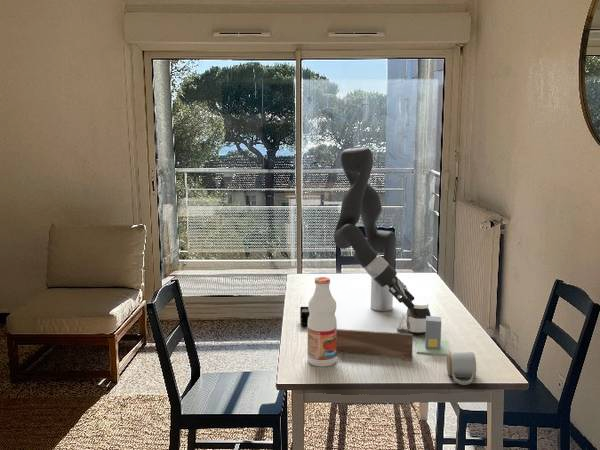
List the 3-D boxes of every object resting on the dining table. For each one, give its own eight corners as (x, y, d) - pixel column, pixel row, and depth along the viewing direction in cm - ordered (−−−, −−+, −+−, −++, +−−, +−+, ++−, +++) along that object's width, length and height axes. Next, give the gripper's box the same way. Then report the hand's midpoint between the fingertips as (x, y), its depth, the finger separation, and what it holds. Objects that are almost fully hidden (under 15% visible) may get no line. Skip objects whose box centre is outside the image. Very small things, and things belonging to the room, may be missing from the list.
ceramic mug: (445, 370, 183) (446, 347, 182) (471, 371, 183) (473, 348, 181) (450, 385, 173) (451, 361, 172) (478, 386, 172) (480, 362, 171)
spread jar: (432, 336, 213) (434, 306, 211) (403, 338, 211) (404, 307, 209) (420, 325, 224) (422, 296, 222) (392, 327, 222) (393, 297, 220)
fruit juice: (313, 354, 196) (313, 273, 191) (339, 358, 193) (341, 276, 188) (303, 364, 188) (303, 280, 183) (330, 369, 184) (331, 283, 179)
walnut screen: (335, 348, 201) (335, 326, 199) (412, 354, 196) (412, 332, 194) (333, 354, 196) (333, 331, 194) (411, 360, 191) (412, 337, 190)
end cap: (325, 321, 229) (326, 304, 228) (325, 327, 222) (326, 310, 221) (300, 321, 229) (300, 304, 228) (299, 327, 222) (299, 310, 221)
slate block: (425, 343, 204) (426, 315, 203) (439, 344, 204) (440, 316, 202) (425, 348, 200) (426, 320, 198) (440, 349, 199) (441, 321, 197)
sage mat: (416, 340, 208) (416, 338, 208) (448, 342, 206) (448, 341, 206) (416, 353, 197) (416, 351, 197) (449, 355, 195) (450, 354, 195)
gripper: (387, 268, 193) (421, 303, 193) (388, 258, 206) (420, 291, 206) (370, 283, 195) (404, 317, 195) (373, 272, 208) (404, 304, 208)
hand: (412, 304), depth 201 cm, fingers open, 8 cm apart
